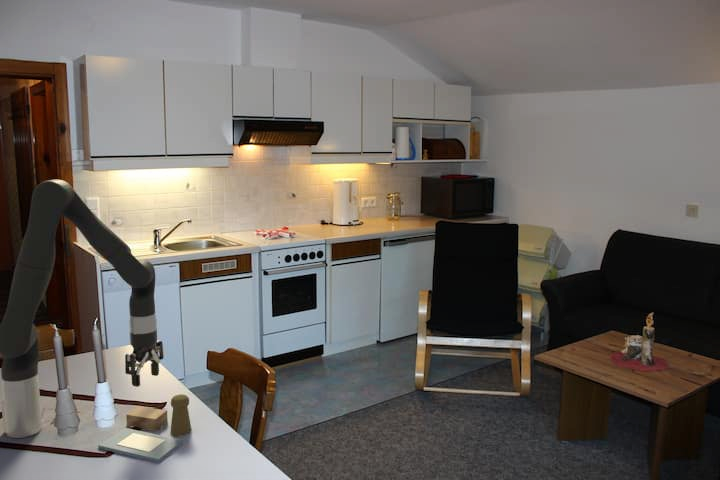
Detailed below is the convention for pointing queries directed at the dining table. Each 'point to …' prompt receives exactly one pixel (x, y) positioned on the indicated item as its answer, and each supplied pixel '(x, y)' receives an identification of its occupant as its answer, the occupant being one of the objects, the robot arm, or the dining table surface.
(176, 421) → the olive pawn
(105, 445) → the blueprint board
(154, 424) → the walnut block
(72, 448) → the dining table surface
